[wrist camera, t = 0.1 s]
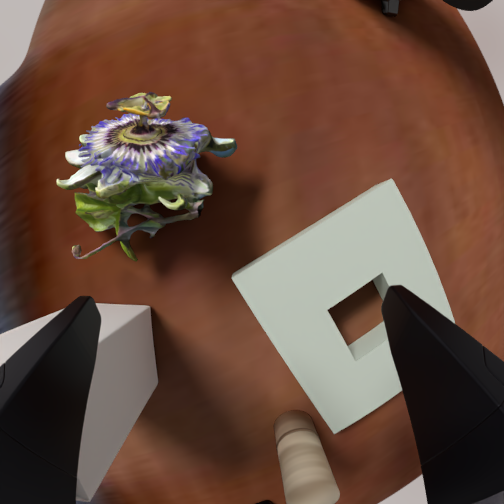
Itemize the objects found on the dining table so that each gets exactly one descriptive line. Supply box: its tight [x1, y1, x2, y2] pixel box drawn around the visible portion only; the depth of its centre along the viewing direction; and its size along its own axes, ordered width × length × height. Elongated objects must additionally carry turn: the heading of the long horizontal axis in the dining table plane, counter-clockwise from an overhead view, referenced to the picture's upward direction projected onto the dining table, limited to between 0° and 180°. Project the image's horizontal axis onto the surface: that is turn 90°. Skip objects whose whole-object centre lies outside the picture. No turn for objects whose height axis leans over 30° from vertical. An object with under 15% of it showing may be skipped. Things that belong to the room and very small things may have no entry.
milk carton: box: [0, 303, 158, 502], centre depth 14 cm, size 7×7×19 cm
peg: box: [274, 410, 340, 504], centre depth 19 cm, size 4×4×10 cm
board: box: [232, 179, 455, 434], centre depth 22 cm, size 16×14×3 cm
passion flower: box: [57, 92, 237, 261], centre depth 19 cm, size 11×11×12 cm
